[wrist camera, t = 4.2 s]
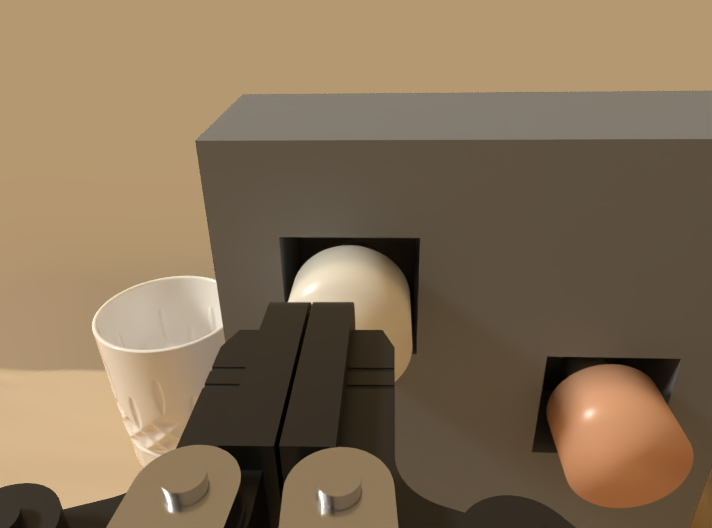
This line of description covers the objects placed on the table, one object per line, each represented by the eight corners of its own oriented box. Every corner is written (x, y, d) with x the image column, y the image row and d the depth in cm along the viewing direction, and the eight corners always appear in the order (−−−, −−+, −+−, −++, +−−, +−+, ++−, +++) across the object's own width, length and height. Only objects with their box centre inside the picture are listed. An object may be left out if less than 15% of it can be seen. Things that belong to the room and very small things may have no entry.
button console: (668, 586, 29) (828, 138, 19) (259, 570, 30) (195, 140, 20) (620, 473, 35) (720, 90, 25) (282, 463, 36) (242, 94, 26)
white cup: (263, 477, 35) (245, 337, 31) (123, 506, 34) (81, 363, 29) (250, 392, 42) (234, 267, 37) (133, 413, 40) (100, 285, 36)
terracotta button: (677, 509, 22) (707, 420, 20) (557, 506, 22) (574, 416, 20) (622, 401, 28) (642, 321, 25) (525, 399, 28) (537, 320, 26)
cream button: (410, 399, 20) (414, 288, 18) (283, 396, 21) (272, 286, 19) (407, 306, 26) (409, 212, 24) (306, 305, 26) (299, 211, 24)
